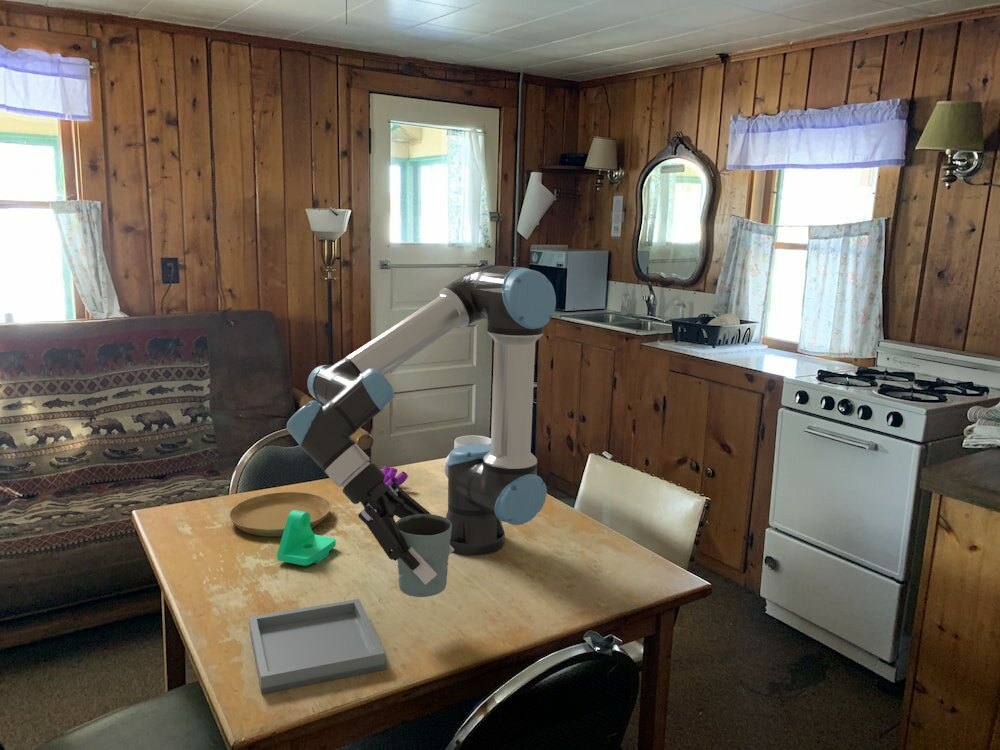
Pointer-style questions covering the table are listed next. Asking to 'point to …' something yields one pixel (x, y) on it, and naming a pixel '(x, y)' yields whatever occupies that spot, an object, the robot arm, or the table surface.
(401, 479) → the purple coral
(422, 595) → the grey green cup
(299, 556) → the camera mount
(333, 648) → the tray
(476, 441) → the mug
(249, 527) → the plant saucer
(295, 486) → the table surface
